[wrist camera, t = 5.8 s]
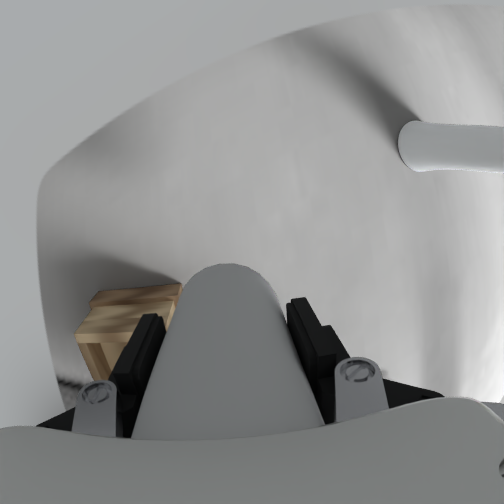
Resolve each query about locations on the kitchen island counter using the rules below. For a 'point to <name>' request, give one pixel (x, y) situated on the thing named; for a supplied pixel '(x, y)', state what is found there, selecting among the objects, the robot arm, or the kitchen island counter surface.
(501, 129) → the cosmetic bottle
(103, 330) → the wooden crate
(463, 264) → the kitchen island counter surface
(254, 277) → the beverage can
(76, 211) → the kitchen island counter surface
